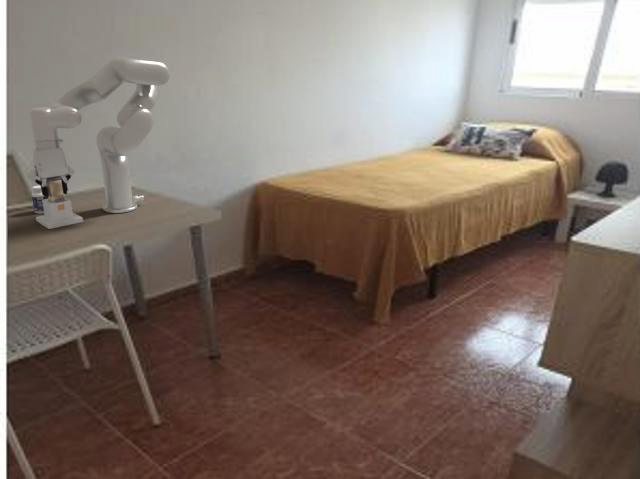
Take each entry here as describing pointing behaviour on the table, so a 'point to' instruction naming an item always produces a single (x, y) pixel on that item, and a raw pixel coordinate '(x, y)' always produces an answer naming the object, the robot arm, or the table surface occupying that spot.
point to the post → (54, 188)
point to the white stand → (58, 214)
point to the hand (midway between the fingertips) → (55, 194)
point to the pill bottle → (38, 199)
